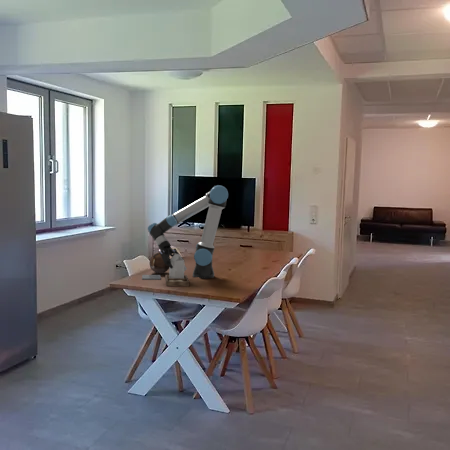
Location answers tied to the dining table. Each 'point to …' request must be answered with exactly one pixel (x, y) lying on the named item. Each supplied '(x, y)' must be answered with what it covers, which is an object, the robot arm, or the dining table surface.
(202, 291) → the dining table surface
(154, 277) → the slate tile
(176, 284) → the walnut rack
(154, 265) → the wooden sphere
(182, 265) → the milk carton
